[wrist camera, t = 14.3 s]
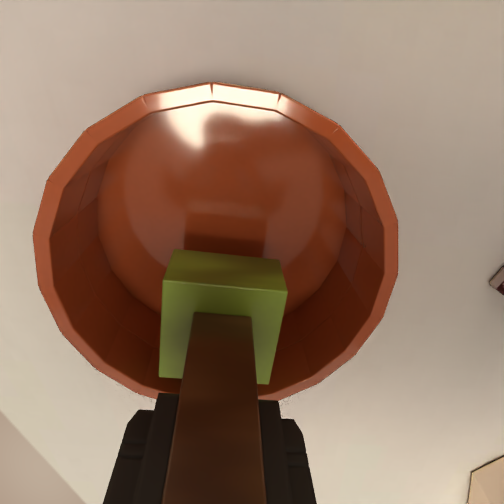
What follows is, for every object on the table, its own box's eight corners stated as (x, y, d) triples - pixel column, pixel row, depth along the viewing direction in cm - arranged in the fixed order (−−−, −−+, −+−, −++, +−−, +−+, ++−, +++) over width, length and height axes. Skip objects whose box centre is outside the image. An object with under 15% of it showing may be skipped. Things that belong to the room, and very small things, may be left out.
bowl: (385, 107, 18) (452, 119, 13) (321, 340, 24) (348, 417, 18) (83, 60, 16) (10, 49, 11) (94, 322, 22) (50, 400, 17)
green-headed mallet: (279, 259, 17) (357, 551, 7) (264, 343, 20) (303, 672, 9) (173, 247, 17) (67, 545, 6) (168, 335, 19) (83, 674, 8)
